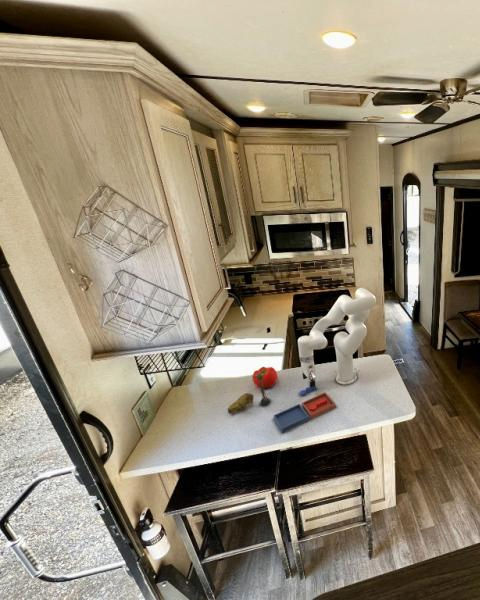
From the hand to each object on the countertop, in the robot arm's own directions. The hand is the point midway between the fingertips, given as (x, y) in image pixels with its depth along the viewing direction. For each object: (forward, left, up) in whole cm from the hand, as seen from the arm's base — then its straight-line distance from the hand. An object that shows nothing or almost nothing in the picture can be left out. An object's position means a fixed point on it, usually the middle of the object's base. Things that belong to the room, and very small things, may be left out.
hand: (309, 382), depth 190 cm
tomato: (+19, -22, -6) cm, 29 cm away
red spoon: (+2, +16, -5) cm, 17 cm away
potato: (+36, -9, -6) cm, 37 cm away
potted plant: (+25, -6, -6) cm, 26 cm away
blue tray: (+17, +16, -6) cm, 24 cm away
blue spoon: (+2, 0, -6) cm, 6 cm away
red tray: (+2, +16, -6) cm, 17 cm away
